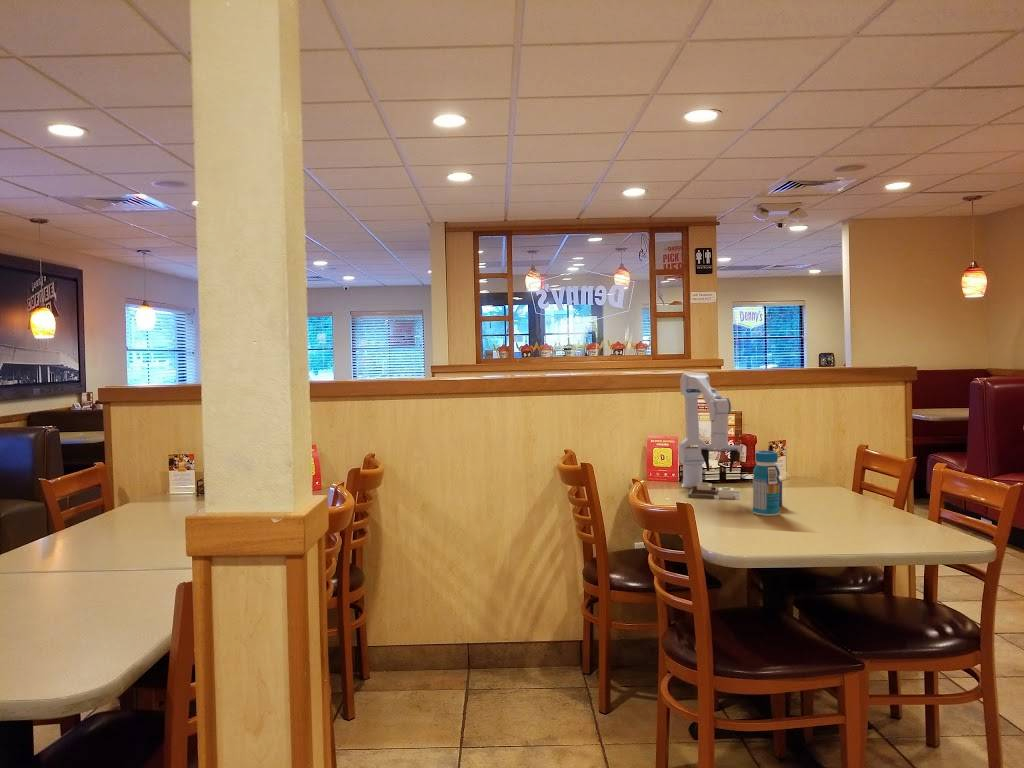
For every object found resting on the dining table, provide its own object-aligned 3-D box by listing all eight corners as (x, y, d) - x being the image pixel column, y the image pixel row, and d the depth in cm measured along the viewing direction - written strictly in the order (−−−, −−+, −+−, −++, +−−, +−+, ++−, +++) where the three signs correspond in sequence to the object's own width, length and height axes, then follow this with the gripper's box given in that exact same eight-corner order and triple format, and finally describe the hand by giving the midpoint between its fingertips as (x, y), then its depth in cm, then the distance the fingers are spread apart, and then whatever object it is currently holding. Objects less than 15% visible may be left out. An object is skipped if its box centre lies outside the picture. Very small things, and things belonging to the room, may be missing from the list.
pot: (719, 495, 275) (719, 486, 274) (733, 495, 273) (733, 487, 273) (718, 497, 270) (718, 488, 270) (733, 498, 268) (733, 489, 268)
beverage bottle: (750, 515, 243) (750, 452, 242) (754, 510, 250) (755, 449, 249) (777, 517, 239) (778, 454, 238) (781, 512, 246) (782, 451, 245)
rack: (689, 489, 287) (689, 486, 287) (739, 492, 282) (739, 488, 282) (686, 498, 271) (686, 494, 271) (739, 500, 265) (739, 496, 265)
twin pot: (697, 490, 285) (697, 481, 285) (711, 490, 283) (711, 482, 283) (696, 492, 280) (696, 483, 280) (710, 493, 278) (710, 484, 278)
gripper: (697, 433, 266) (697, 472, 266) (740, 434, 261) (740, 473, 262) (698, 431, 272) (698, 469, 273) (741, 432, 268) (740, 470, 268)
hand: (719, 471), depth 268 cm, fingers open, 7 cm apart
